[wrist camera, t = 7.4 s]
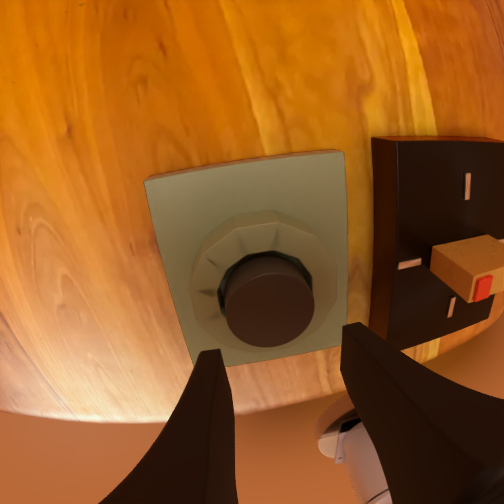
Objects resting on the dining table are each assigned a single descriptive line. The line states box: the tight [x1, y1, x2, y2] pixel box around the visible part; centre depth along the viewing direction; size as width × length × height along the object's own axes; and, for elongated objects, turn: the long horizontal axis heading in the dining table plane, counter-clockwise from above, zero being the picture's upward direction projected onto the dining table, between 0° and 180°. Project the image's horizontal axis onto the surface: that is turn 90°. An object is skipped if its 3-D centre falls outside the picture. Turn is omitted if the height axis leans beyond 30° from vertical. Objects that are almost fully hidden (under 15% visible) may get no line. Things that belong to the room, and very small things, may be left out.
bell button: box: [224, 255, 315, 348], centre depth 13 cm, size 4×4×2 cm
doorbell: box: [144, 149, 348, 367], centre depth 15 cm, size 11×9×3 cm
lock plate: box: [369, 136, 504, 351], centre depth 16 cm, size 12×9×3 cm
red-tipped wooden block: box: [430, 234, 504, 303], centre depth 13 cm, size 4×1×4 cm, turn 98°
